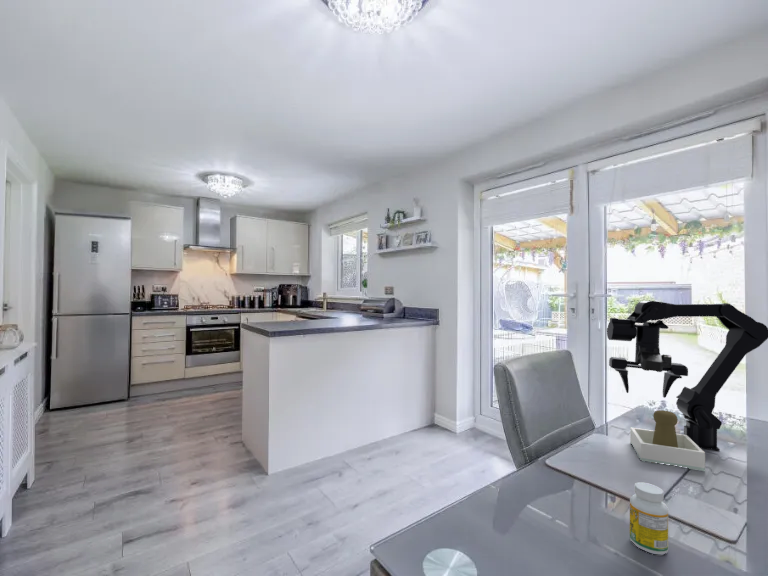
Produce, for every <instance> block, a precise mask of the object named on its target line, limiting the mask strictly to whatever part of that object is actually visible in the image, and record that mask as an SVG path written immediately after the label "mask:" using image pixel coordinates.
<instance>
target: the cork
mask: <svg viewBox="0 0 768 576" xmlns="http://www.w3.org/2000/svg"><path fill="white" fill-rule="evenodd" d="M652 416H653V420H654V422H655V425H654V436H653V442H652V444H656V445H663V446H669V447H676V448H678V443H677V436H676V434H677V431H676V425H677V424H678V417H677V415H676V414H675V413H674V412H671V411H669V410H662V409H659V410H655V411H654V412H653V415H652Z"/></svg>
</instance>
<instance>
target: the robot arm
mask: <svg viewBox="0 0 768 576" xmlns="http://www.w3.org/2000/svg"><path fill="white" fill-rule="evenodd" d="M677 317H683V318H684V317H686V318H687V317H692V318H693V317H694V318H695V317H697V318H698V317H700V318H701V317H709V318H711V317H712V318H713V317H716V319H718V321H719V322H720V323H721V325H723V327H725V328H726V329H727V330H728V331H727V334H726V335H725V345H724V346H723V348H722V350H721V351H720V353H719V354H718V355H717V357H715V359H714V360H713V362H712V363H711V364H710V366H709V367H708V369H707V371H706V372H705V373H704V375H703V376H702V377H701V379H700V380H699V381H698V383H697V384H696V385H695V386H693V387H691V388H689V387H688V386H684V387H683V388H682V390H681V392H680V393H679V394H678V395H677V396H676V398H677V400H676V402H675V403H676V408H677V409H678V411H679V412H680V413H681V414H682V415H683V417H684V419H685V421H686V422H685V424H686V425H683V435H687V436H688V437H689V438H690V439H691V440H692V441H693V442H695V443H696V444H697V445H698V446H699V447H700V448H701V449H703V450H709V451H720V448H719V447H718V430H720V428H721V427H722V424H723V423H722V421H721V419H719V418H718V416H715V414H714V413H713V411H714V409H715V407H716V396H717V394H718V393H719V392H720V391H721V389H722V388H723V386H724V385H725V384H726V382H727V380H728V379H729V378H730V377H731V375H733V372H734V371H735V370H736V368H737V367H738V366H739V364H740V363H741V362H742V360H743V359H744V358H745V356H746V355H747V354H748V353H750V352H752V351H755V349H757V348H759V347H761V345H763V344H764V343H765V342H767V340H768V327H767V325H766V324H764V323H762V322H758V321H757V320H755V319H754V318H753V317H751V316H749V315H747V314H746V313H744V312H742V311H740V310H739V309H737V308H736V307H735V306H733V304H730V303H726V302H722V303H721V302H717V303H692V304H691V303H689V304H687V303H683V304H682V303H678V304H677V303H675V304H674V303H669V302H664V301H663V302H662V301H657V300H656V301H655V300H641V301H638V302H637V303H636V305H635V307H634V310H633V311H632V313H631V314H630V315H629V316H628V317H627V318H618V317H617V318H615V317H610V318H609V322H608V324H607V325H608V326H607V328H606V336H607V339H608V341H621V342H632V340H633V339H635V355H634V356H635V357H634V358H635V359H634V361H632V360H627V359H626V358H625V357H619V356H618V357H617V356H616V357H615V356H611V357H610V358H609V360H608V361H609V362H608V365H609V367H610V368H612V369H614V370H615V371H616V372H618V373H619V377H620V378H621V380H622V383H623V386H624V389H625V392H626V393H627V394H628V393H629V391H630V390H629V389H630V388H629V387H630V386H629V377H628V376H629V371H628V370H627V368H632V369H633V368H635V369H642V370H643V371H648V372H649V371H652V372H653V371H654V372H657V373H662V372H664V373H663V375H664V376H663V384H662V397H663V398H664V399H665V398H666V397H667V395H668V393H669V391H670V389H671V387H672V385H673V384H674V383H675V381H676V380H677V379H683V377H688V376H689V368H688V367H687V366H686V365H684V364H682V363H677V362H672V356H671V355H670V354H661V353H660V352H661V351H660V329H665V330H666V329H669V326H668V325H667V324H666V323H665V322H664V321H663V320H666V319H672V318H677ZM651 321H652V322H651ZM654 321H655V322H654Z"/></svg>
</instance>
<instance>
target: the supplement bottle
mask: <svg viewBox="0 0 768 576" xmlns="http://www.w3.org/2000/svg"><path fill="white" fill-rule="evenodd" d="M633 489H634V494H633V495H631V496H630V498H629V540H630V542H631V541H632V542H633V543H634V544H635V545H636V546H638V547H639V548H641V549H643V550H645V551H648V552H651V553H655V554H664V553H666V554H667V553H668V552H669V507H668V506H667V504H666V503H665V502H664V497H665V495H664V490H663V489H662V488H660V487H659V486H657V485H656V484H655V485H654V484H651V483H648V482H643V481H642V482H639V481H638V482H635V483H634V487H633ZM632 542H631V543H632ZM633 543H632V544H633ZM634 544H633V545H634ZM635 545H634V546H635ZM636 546H635V547H636ZM639 548H638V549H639Z"/></svg>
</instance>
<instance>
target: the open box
mask: <svg viewBox="0 0 768 576" xmlns="http://www.w3.org/2000/svg"><path fill="white" fill-rule="evenodd" d="M629 428H630V430H629V431H630V432H629V434H630V436H629V438H630V439H629V440H630V445H631V444H632V445H633V447H634V449H635V450H636V452H637V454H638V455H637V454H636V455H637V457H638V456H639V457H638V459H639V458H640V459H639V460H642V461H641V462H645V461H649V462H648V463H651V462H657V463H664V464H670V465H677V466H682V467H687V468H689V469H688V470H694V471H695V470H696V471H700V472H706V452H705V451H704V449H703V448H700V447H699V446H698V445H697V444H696V443H695V442H693V441H692V440H691V439H690V438H689V437H688V436H687V435H684V433H682V434H681V433H676V436H677V443H678V448H676V447H669V446H663V445H656V444H652V442H653V436H654V431H655V429H654V430H652V429H647V428H646V429H645V428H639V427H629ZM632 445H631V446H632ZM633 447H632V448H633ZM634 449H633V450H634ZM635 450H634V451H635ZM636 452H635V453H636ZM657 463H656V464H657ZM687 468H686V469H687Z"/></svg>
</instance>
